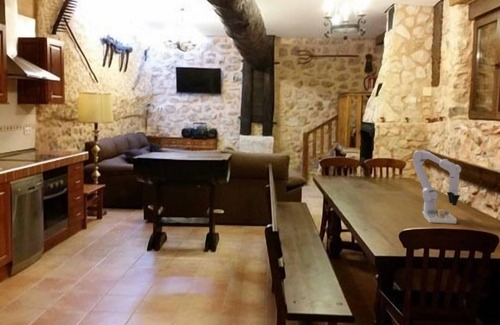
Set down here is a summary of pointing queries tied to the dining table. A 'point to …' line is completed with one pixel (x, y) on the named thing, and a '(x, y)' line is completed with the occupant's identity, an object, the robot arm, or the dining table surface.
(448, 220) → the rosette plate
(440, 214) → the peg
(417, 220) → the dining table surface
